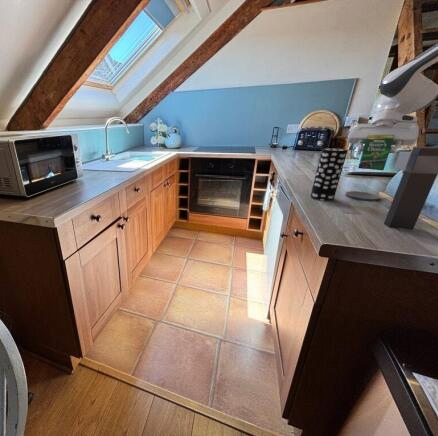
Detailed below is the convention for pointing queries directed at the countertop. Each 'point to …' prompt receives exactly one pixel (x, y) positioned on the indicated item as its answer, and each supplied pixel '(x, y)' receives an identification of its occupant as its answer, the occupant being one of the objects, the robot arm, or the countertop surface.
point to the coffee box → (376, 152)
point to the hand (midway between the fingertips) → (376, 151)
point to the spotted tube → (328, 174)
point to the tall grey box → (412, 186)
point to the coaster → (362, 196)
